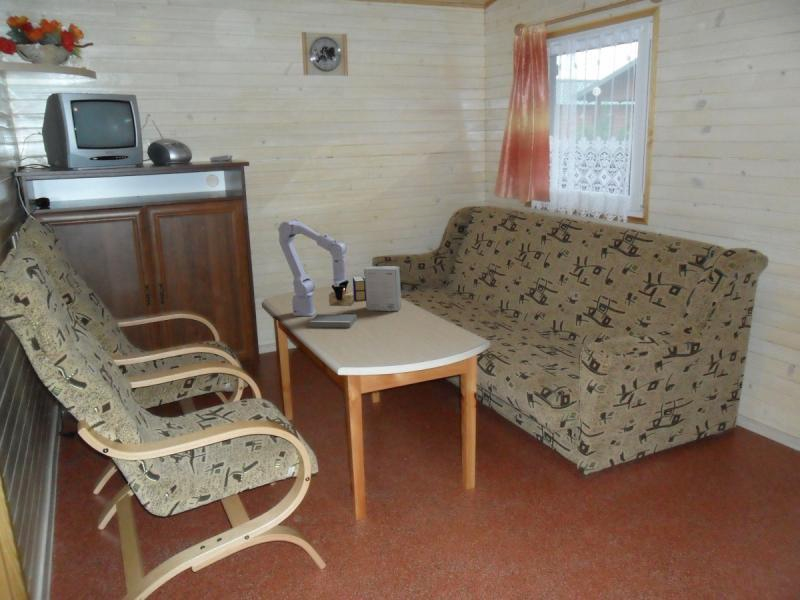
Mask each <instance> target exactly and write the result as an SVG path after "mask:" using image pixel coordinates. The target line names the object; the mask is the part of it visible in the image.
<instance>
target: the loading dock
mask: <svg viewBox="0 0 800 600" xmlns="http://www.w3.org/2000/svg"><path fill="white" fill-rule="evenodd" d="M356 321H357V314H339V313H335V314H331V313H328V314H327V313H326V314H325V313H320V314H319V313H317V314H316V315H315V316H314V317H313V318H311V320H310V321H309V328H321V327H348V328H347V329H350V328H349V327H351V328H352V326H353V325H354V324H355V323H356ZM354 322H355V323H354ZM353 323H354V324H353Z"/></svg>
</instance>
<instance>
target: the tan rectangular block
mask: <svg viewBox="0 0 800 600" xmlns="http://www.w3.org/2000/svg"><path fill="white" fill-rule="evenodd" d="M354 299H355V298H354V294H353V291H349V292H348V291H346V292H345V294H343V295H342V300H337V298H336V295H335V292H334V291H332V292H330V293H329V294H328V300H329V301H328V302H329V303H328V305H329V306H330V307H351V306H352V305H354V302H355V300H354Z"/></svg>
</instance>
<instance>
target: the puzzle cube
mask: <svg viewBox="0 0 800 600" xmlns="http://www.w3.org/2000/svg"><path fill="white" fill-rule="evenodd" d="M352 290H353V291H352V292H353V297H355V298H354V299H355V300H354V301H356V300H358V301H366V291H365V275H364V276H355V277H352Z"/></svg>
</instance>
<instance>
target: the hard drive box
mask: <svg viewBox="0 0 800 600" xmlns="http://www.w3.org/2000/svg"><path fill="white" fill-rule="evenodd" d="M363 271H364V274H363V275H364V276H365V291H366V299H365V304H366V305H365V306H366V311H374V310H376V311H377V310H379V311H383V312H384V311H385V312H397V311H399V310H400V309H401V308H402V292H401V290H402V289H401V275H400V273H401V272H400V271H401V270H400V266H395V265H394V266H392V265H391V266H389V265H388V266H387V265H386V266H383V265H381V266H379V265H378V266H375V265H373V266H372V265H369V266H368V267H366V268H365V269H363ZM379 311H378V312H379Z"/></svg>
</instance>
